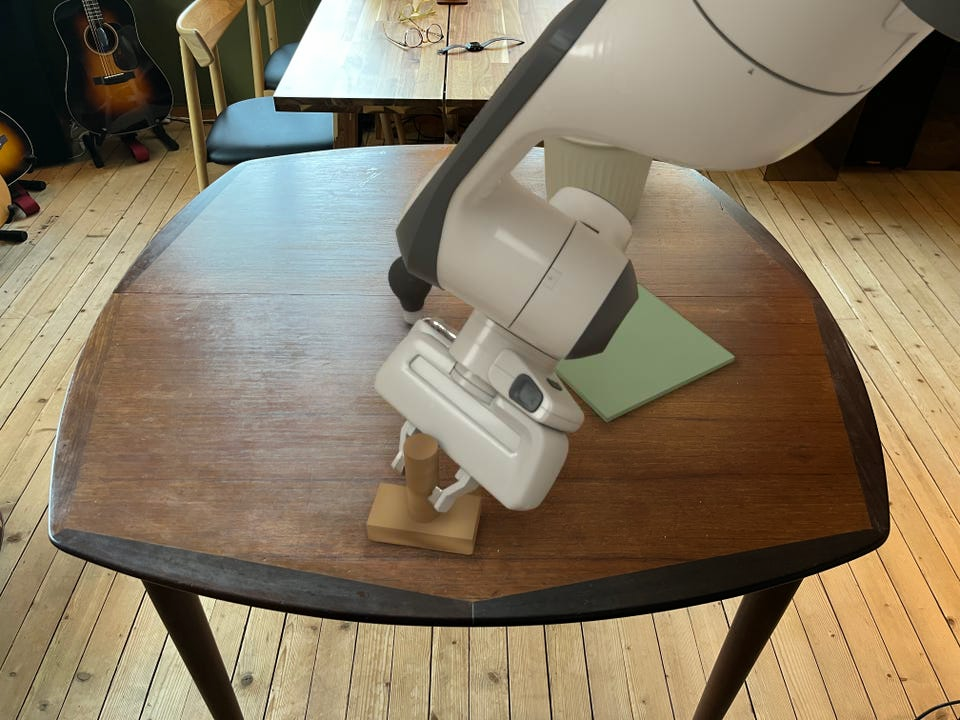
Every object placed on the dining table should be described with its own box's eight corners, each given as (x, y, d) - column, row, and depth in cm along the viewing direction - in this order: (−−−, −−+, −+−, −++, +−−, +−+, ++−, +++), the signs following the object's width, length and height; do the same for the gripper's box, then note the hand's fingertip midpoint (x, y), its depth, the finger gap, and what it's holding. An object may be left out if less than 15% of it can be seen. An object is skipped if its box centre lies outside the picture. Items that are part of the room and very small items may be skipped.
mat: (733, 361, 90) (735, 356, 89) (606, 422, 82) (607, 417, 81) (609, 266, 105) (609, 261, 105) (491, 310, 97) (491, 305, 97)
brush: (481, 515, 72) (482, 431, 64) (472, 558, 69) (472, 475, 61) (382, 501, 74) (372, 418, 66) (368, 543, 70) (356, 460, 62)
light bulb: (387, 333, 93) (381, 268, 87) (397, 307, 97) (392, 242, 91) (430, 338, 93) (427, 273, 86) (439, 311, 97) (437, 247, 90)
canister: (669, 214, 116) (696, 81, 102) (608, 263, 106) (630, 122, 92) (574, 179, 125) (587, 51, 111) (509, 221, 114) (515, 86, 100)
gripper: (406, 298, 68) (330, 421, 70) (568, 417, 57) (472, 561, 58) (444, 316, 73) (373, 431, 75) (599, 429, 62) (511, 561, 63)
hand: (417, 489), depth 66 cm, fingers open, 4 cm apart
